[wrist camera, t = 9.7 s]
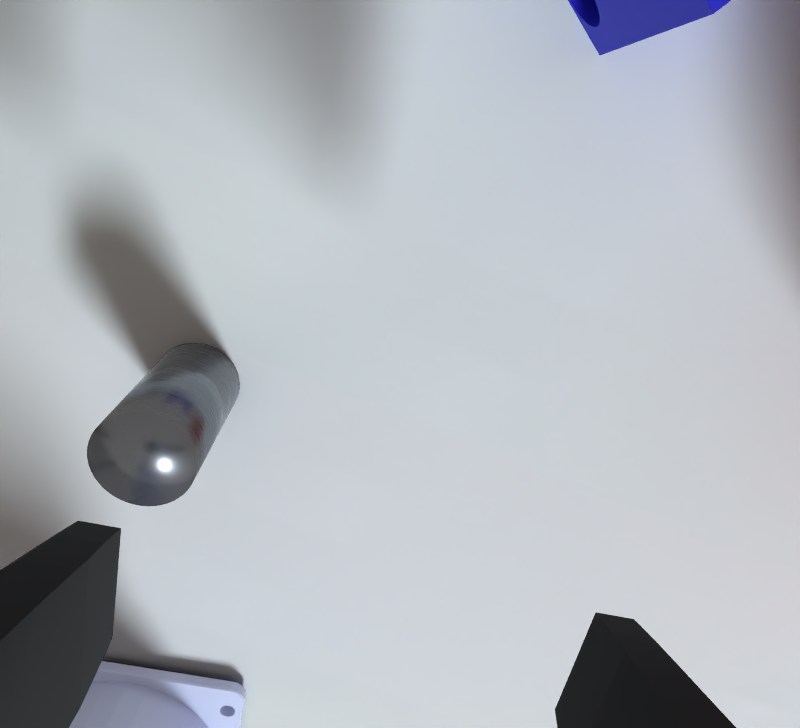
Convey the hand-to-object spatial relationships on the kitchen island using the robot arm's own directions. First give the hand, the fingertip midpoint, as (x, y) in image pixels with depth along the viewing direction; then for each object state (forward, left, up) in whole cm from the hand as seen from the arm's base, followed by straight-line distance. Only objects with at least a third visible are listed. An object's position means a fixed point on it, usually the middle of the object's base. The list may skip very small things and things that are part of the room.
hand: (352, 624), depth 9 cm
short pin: (-1, +5, -9) cm, 11 cm away
